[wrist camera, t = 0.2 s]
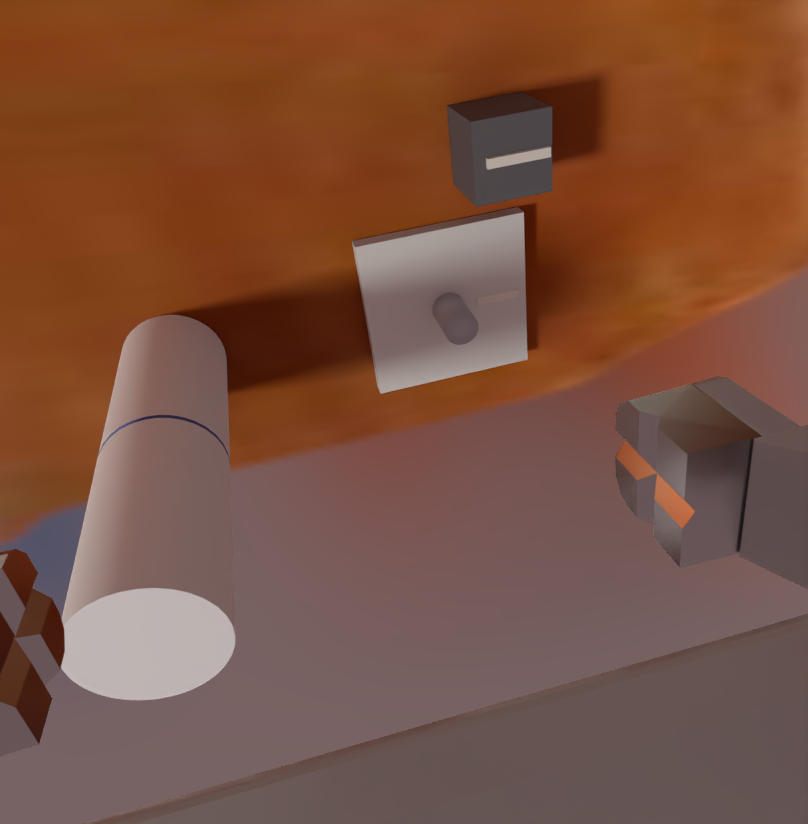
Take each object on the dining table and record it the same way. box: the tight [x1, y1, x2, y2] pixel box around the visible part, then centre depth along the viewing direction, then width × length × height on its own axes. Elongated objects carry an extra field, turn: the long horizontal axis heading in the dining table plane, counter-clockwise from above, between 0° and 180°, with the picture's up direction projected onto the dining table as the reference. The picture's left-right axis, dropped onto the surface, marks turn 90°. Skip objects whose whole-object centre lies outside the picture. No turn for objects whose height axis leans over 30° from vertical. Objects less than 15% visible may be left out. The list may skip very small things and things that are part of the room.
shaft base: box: [352, 207, 527, 394], centre depth 50 cm, size 12×12×5 cm
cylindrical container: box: [61, 315, 235, 700], centre depth 39 cm, size 7×7×25 cm
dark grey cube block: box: [447, 92, 552, 207], centre depth 44 cm, size 5×5×5 cm
